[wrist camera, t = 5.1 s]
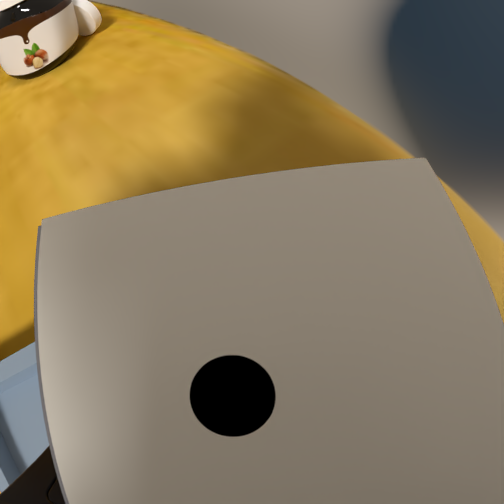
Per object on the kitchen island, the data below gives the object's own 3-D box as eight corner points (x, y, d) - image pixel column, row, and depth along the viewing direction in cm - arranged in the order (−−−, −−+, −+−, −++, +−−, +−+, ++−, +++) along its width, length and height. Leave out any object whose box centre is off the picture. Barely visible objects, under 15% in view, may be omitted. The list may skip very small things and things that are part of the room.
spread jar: (2, 90, 25) (-30, 17, 14) (36, 45, 30) (17, -18, 19) (85, 65, 26) (61, -25, 16) (110, 25, 31) (98, -47, 20)
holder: (172, 485, 12) (161, 500, 10) (48, 524, 10) (27, 535, 7) (90, 333, 15) (69, 322, 13) (-15, 390, 13) (-41, 385, 10)
